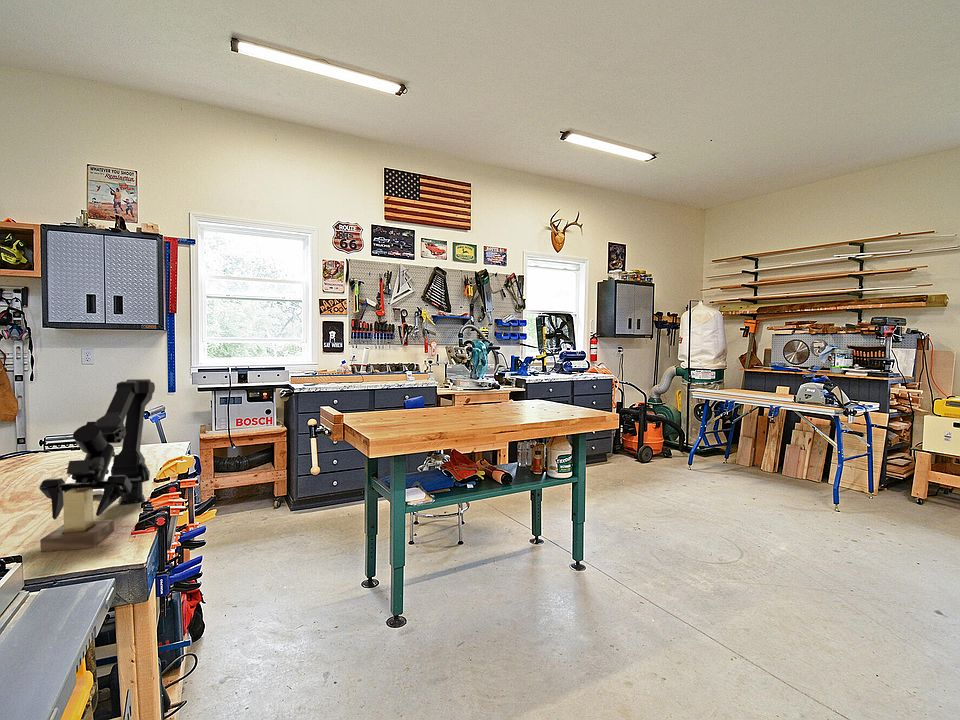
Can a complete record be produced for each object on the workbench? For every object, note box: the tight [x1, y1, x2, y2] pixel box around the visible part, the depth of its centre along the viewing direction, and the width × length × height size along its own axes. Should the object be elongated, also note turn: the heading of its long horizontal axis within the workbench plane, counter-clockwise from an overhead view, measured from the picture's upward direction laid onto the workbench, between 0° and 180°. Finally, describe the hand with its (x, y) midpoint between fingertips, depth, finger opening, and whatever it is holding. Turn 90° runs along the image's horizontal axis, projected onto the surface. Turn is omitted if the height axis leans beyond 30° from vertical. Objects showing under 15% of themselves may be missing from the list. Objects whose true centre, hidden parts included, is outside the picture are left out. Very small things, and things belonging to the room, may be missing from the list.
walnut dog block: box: [39, 519, 115, 552], centre depth 125 cm, size 11×11×3 cm
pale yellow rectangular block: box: [63, 487, 95, 534], centre depth 125 cm, size 4×4×13 cm
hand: (75, 516), depth 123 cm, fingers open, 9 cm apart
